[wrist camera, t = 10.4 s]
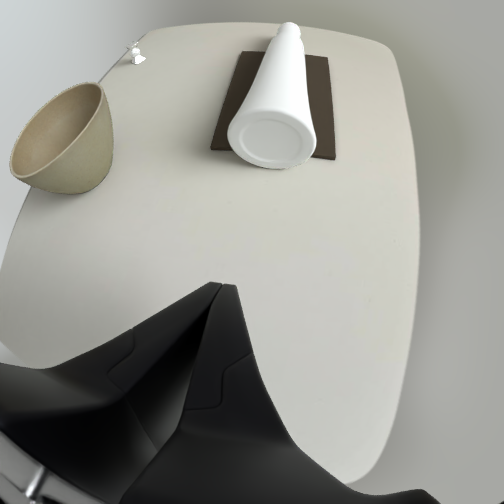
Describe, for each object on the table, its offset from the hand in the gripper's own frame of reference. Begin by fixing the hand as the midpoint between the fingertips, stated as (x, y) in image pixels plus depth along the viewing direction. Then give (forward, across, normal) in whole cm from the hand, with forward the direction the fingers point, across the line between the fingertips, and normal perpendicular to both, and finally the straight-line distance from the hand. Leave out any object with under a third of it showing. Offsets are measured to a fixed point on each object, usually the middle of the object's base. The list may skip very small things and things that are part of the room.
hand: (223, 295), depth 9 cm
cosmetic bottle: (+12, 0, -4) cm, 12 cm away
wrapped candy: (+27, +20, -15) cm, 37 cm away
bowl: (+14, +16, -1) cm, 22 cm away
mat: (+21, 0, -9) cm, 22 cm away
